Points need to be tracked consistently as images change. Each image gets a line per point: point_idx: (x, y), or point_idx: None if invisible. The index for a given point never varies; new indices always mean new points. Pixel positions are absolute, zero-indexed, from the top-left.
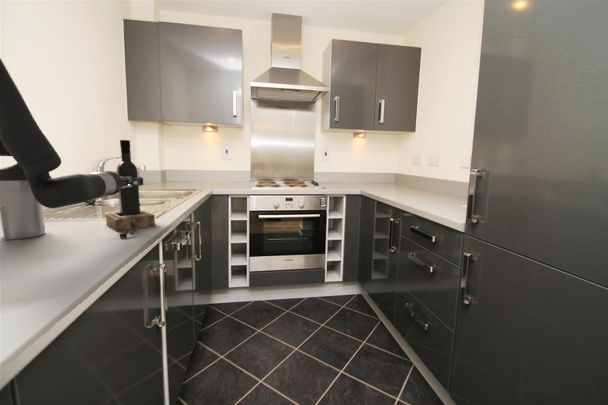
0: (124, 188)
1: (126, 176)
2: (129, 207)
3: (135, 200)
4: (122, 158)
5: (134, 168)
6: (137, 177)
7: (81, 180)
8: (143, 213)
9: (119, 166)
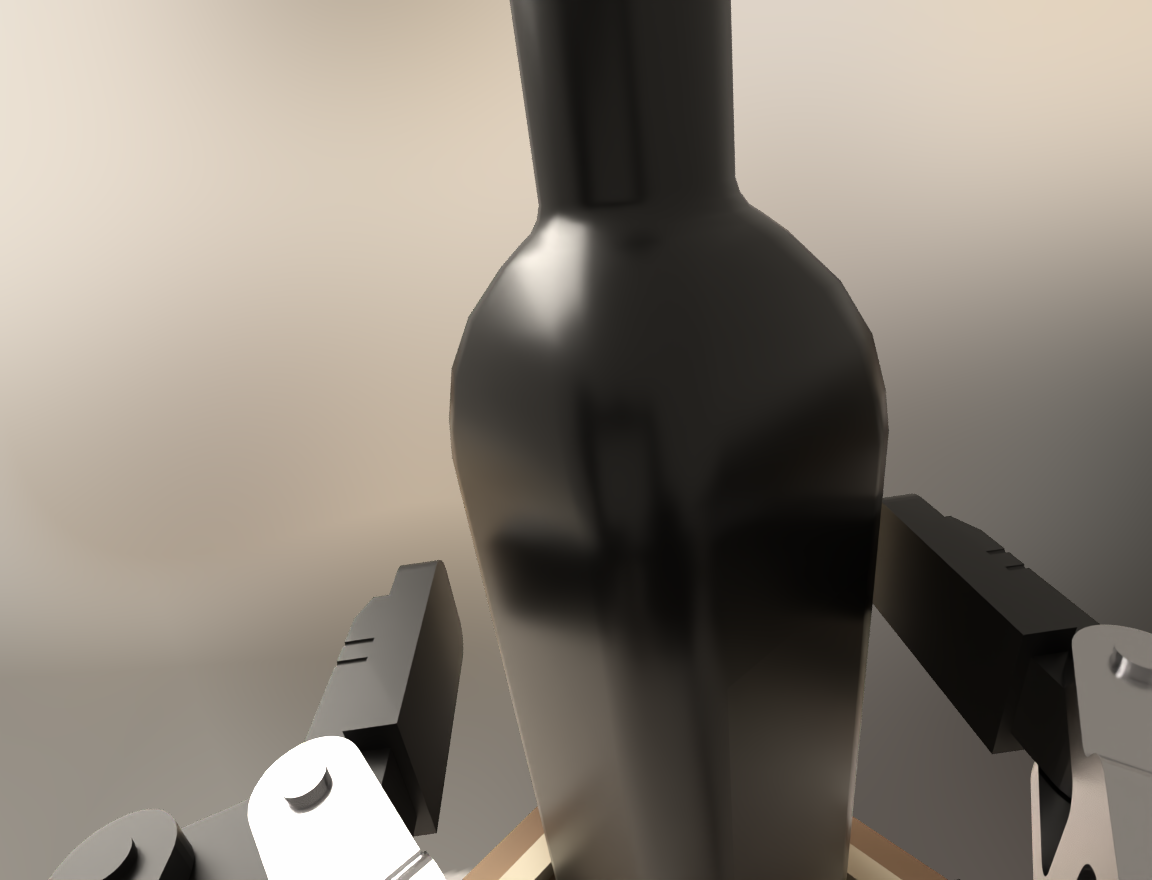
0: (736, 841)
1: (1140, 855)
2: None
3: (833, 870)
4: (590, 126)
5: (874, 358)
6: (985, 569)
7: None
8: None
9: (589, 391)
